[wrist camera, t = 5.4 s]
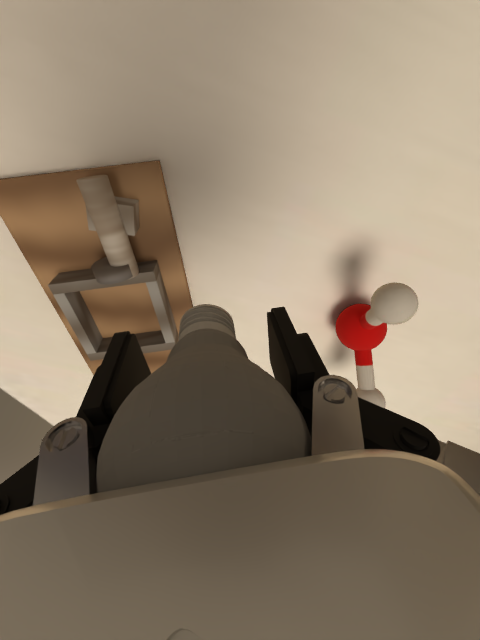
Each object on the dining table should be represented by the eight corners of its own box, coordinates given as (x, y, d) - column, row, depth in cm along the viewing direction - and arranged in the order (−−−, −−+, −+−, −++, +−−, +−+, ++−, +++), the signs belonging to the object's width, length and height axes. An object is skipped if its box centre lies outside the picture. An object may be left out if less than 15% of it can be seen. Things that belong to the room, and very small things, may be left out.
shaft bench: (-11, 180, 23) (-58, 193, 19) (159, 160, 23) (150, 169, 19) (106, 388, 38) (95, 420, 34) (208, 373, 39) (208, 404, 35)
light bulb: (119, 326, 14) (-7, 629, 5) (200, 237, 12) (193, 506, 3) (212, 380, 16) (220, 633, 8) (290, 316, 14) (405, 568, 6)
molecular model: (322, 257, 30) (366, 307, 22) (376, 243, 30) (440, 289, 22) (328, 366, 41) (359, 428, 32) (368, 357, 40) (410, 417, 32)
